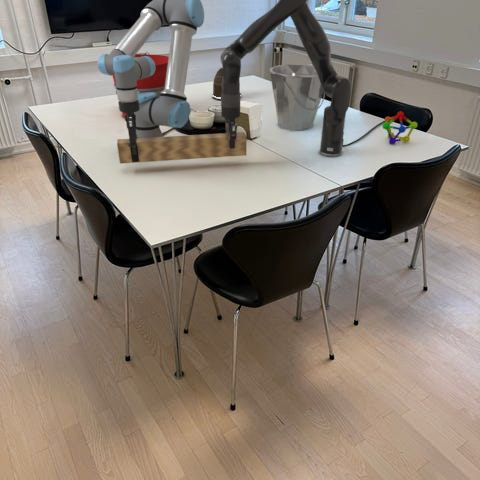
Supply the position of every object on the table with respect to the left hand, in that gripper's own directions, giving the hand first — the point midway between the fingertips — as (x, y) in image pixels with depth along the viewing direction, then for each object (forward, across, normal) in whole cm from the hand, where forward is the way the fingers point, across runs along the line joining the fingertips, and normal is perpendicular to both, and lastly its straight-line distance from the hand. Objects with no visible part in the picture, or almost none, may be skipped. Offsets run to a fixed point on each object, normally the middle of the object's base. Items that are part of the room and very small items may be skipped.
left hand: (135, 158), depth 178 cm
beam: (+1, 0, -19) cm, 19 cm away
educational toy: (+5, +12, -121) cm, 121 cm away
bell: (+5, +110, -56) cm, 123 cm away
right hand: (-3, 0, -39) cm, 39 cm away
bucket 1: (+5, +80, -4) cm, 81 cm away
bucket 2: (+5, +46, -82) cm, 94 cm away
